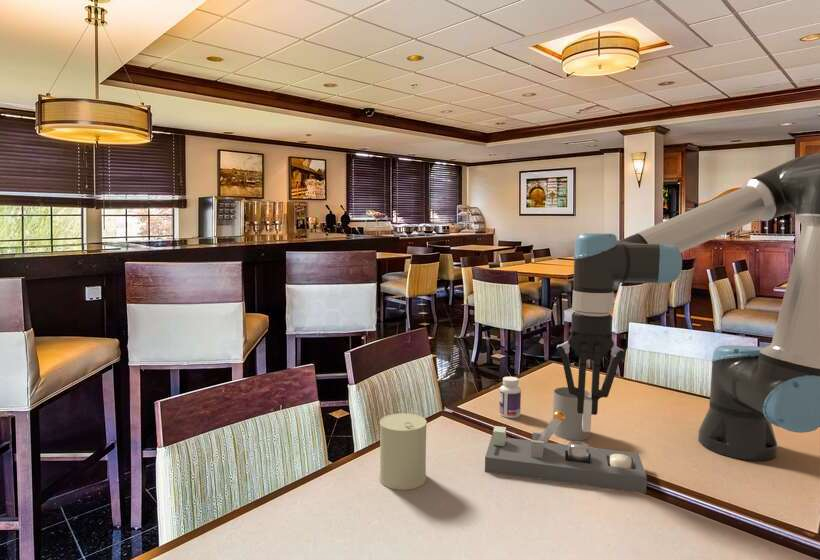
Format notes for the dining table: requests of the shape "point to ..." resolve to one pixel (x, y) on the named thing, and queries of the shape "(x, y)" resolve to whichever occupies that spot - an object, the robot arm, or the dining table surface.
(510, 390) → the pill bottle
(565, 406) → the cup
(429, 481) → the dining table surface
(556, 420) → the lever
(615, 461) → the ivory button
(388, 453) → the can
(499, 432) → the slider
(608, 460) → the panel
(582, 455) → the grey button
